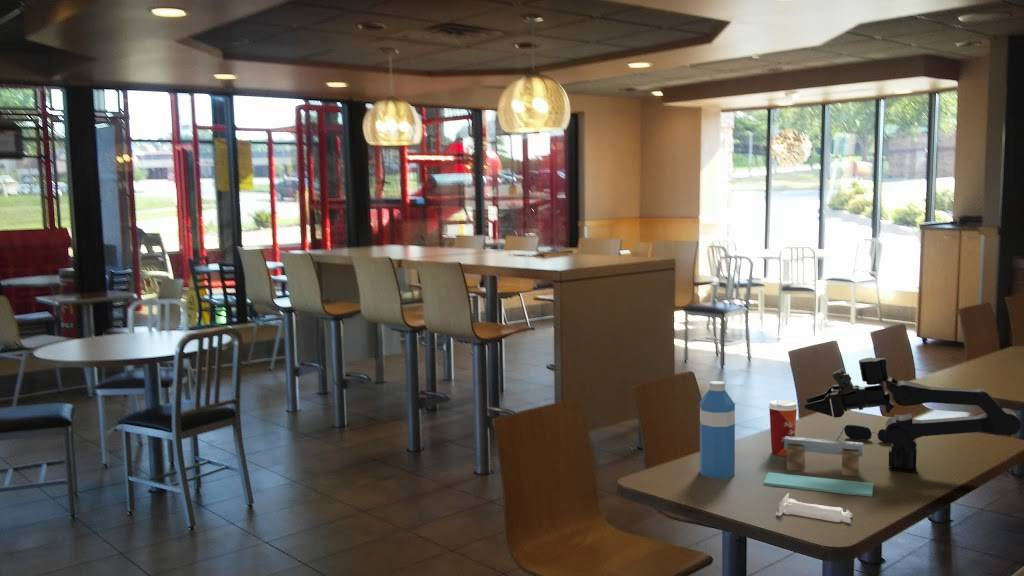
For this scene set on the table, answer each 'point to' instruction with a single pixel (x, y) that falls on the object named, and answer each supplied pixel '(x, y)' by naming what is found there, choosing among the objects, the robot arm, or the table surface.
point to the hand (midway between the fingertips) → (805, 403)
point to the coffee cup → (781, 424)
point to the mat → (819, 484)
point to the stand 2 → (850, 463)
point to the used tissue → (813, 510)
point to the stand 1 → (795, 457)
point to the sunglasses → (863, 433)
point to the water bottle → (717, 432)
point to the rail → (823, 445)
